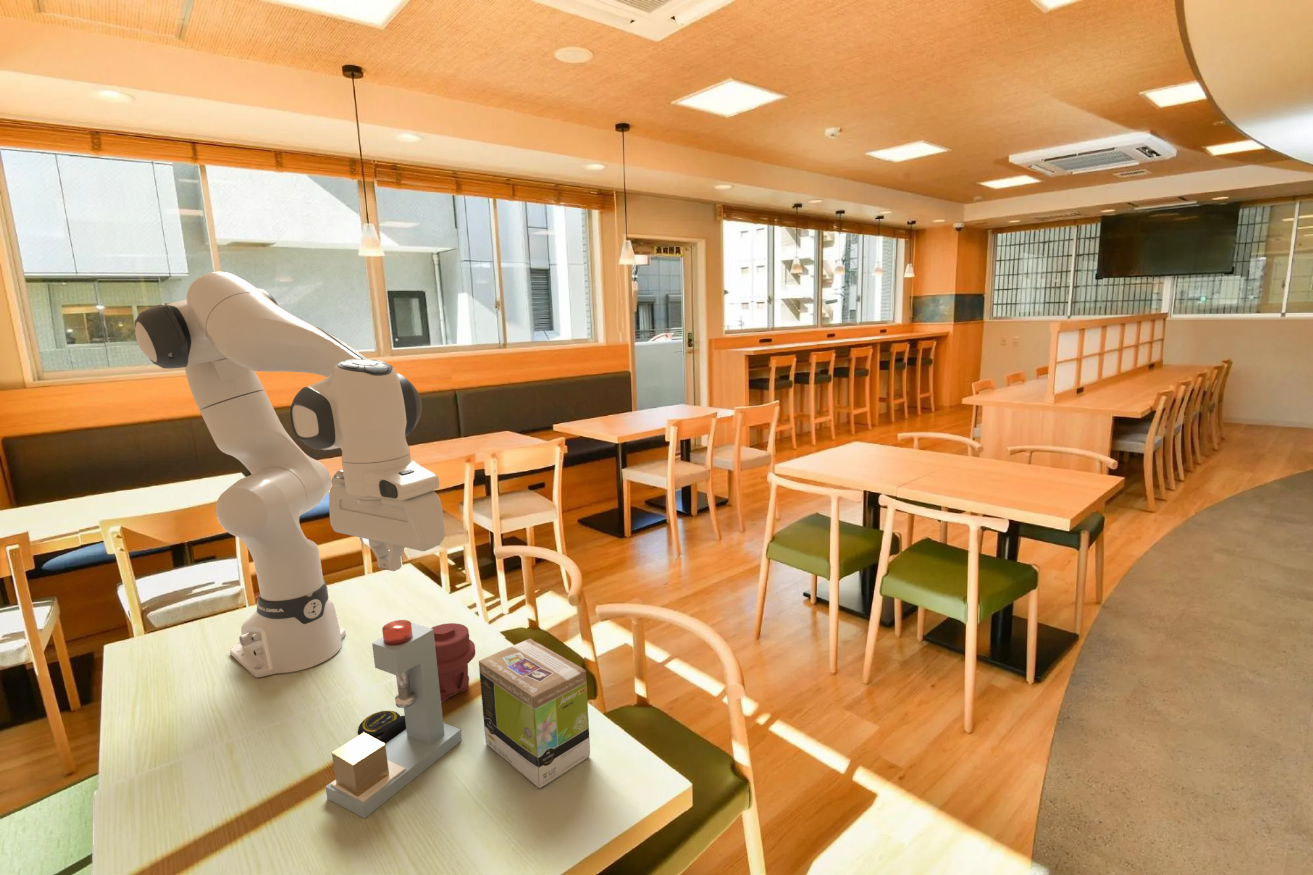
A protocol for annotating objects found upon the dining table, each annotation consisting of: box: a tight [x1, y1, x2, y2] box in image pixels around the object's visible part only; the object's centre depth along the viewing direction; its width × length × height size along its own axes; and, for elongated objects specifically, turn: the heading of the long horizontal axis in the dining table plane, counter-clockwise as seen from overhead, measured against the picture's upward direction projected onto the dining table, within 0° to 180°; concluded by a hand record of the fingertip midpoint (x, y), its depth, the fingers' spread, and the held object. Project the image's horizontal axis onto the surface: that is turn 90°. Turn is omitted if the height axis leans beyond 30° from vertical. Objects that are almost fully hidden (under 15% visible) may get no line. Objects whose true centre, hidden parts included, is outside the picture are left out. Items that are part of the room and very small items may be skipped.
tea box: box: [478, 638, 591, 789], centre depth 100 cm, size 15×10×15 cm, turn 45°
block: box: [331, 733, 389, 797], centre depth 92 cm, size 5×5×5 cm
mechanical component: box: [430, 622, 476, 703], centre depth 116 cm, size 12×10×10 cm
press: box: [324, 622, 463, 819], centre depth 96 cm, size 8×18×20 cm, turn 151°
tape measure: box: [357, 710, 406, 744], centre depth 104 cm, size 7×7×4 cm
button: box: [381, 619, 416, 709], centre depth 97 cm, size 4×4×12 cm
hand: (390, 568), depth 94 cm, fingers closed
